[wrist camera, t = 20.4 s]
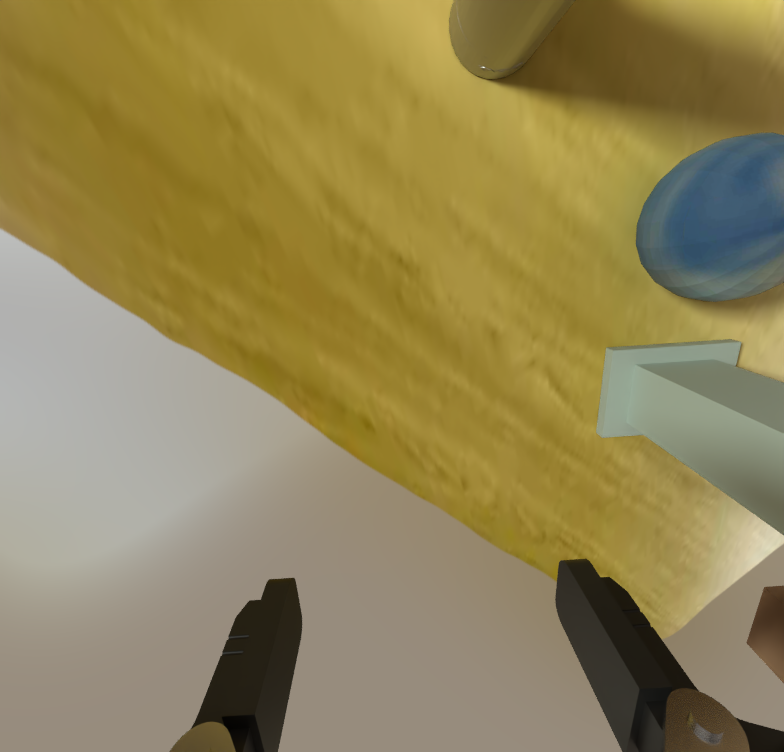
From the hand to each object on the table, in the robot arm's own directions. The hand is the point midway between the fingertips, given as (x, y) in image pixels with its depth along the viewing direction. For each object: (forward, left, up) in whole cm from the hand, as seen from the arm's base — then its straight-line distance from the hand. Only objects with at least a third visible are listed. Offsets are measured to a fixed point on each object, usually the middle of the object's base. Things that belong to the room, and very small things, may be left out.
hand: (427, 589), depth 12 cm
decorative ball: (-10, +33, -38) cm, 52 cm away
